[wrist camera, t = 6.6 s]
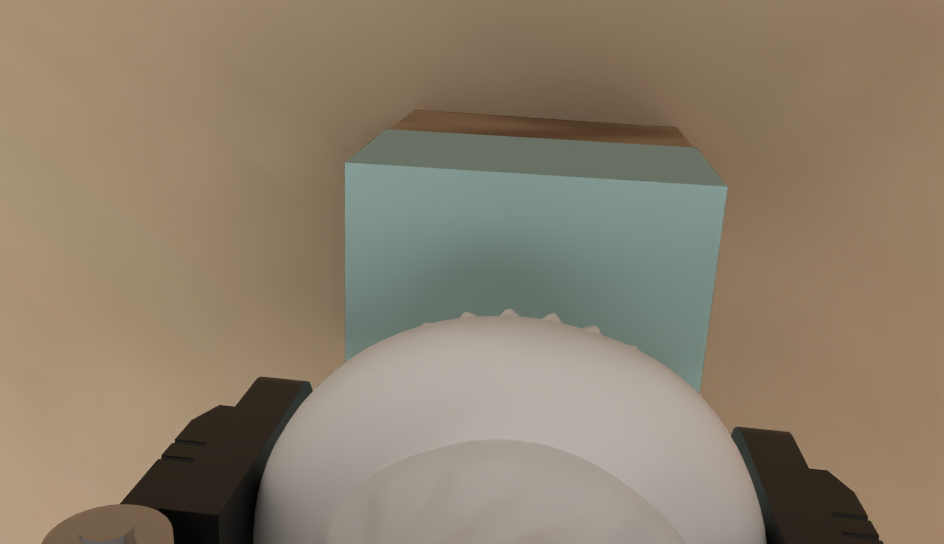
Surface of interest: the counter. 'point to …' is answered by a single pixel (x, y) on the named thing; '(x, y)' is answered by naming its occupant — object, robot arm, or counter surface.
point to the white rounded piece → (505, 446)
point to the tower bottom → (540, 128)
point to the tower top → (533, 238)
